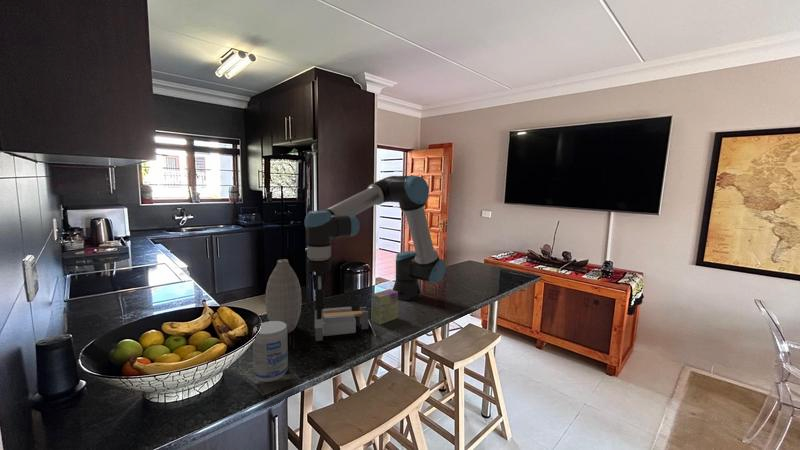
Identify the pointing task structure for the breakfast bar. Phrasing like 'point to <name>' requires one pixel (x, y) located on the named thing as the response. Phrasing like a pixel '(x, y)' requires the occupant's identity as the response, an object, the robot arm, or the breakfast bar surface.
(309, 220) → the robot arm
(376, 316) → the box
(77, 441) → the breakfast bar surface
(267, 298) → the vase
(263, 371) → the supplement tub
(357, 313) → the strap
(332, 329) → the base
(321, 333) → the lock
